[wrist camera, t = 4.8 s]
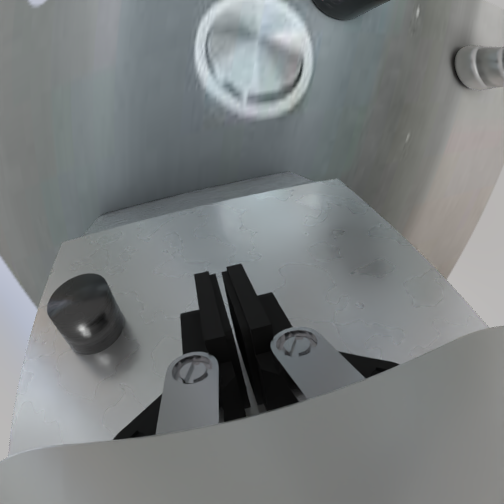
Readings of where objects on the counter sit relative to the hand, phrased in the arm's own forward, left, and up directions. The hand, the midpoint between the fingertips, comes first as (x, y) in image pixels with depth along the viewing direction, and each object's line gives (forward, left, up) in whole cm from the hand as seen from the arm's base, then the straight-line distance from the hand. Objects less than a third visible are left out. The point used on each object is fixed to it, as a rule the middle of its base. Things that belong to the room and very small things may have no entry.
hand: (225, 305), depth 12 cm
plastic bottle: (+12, -39, -22) cm, 47 cm away
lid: (-2, 0, -2) cm, 3 cm away
